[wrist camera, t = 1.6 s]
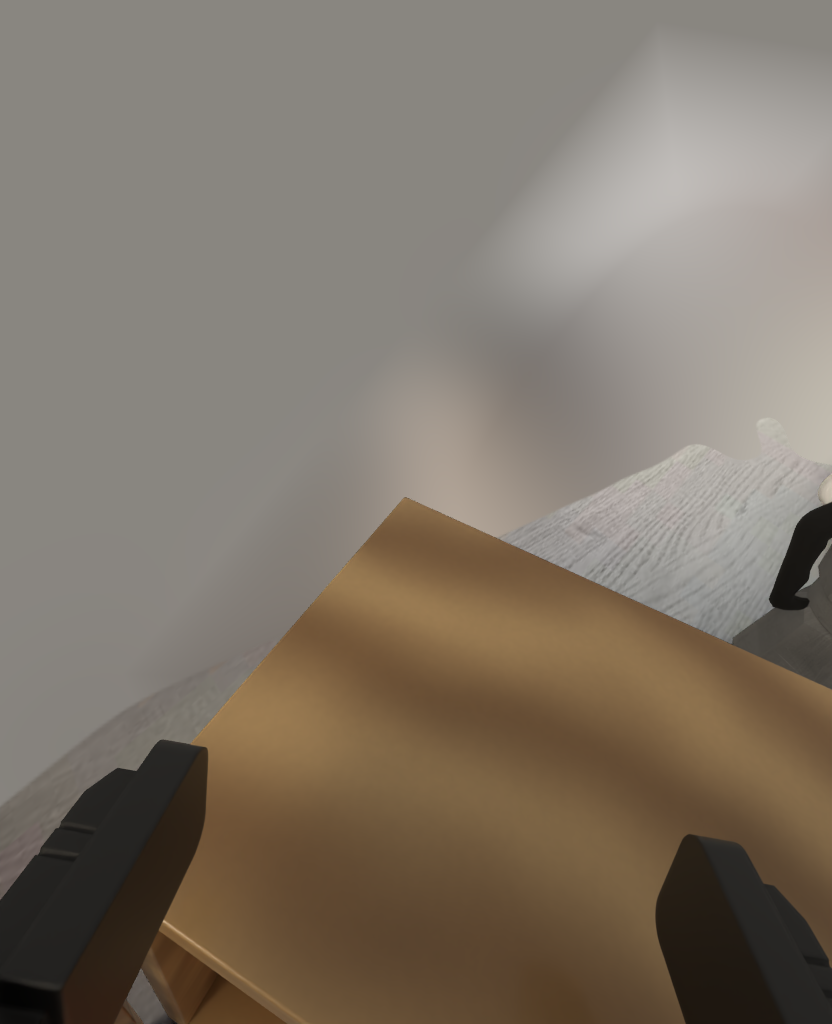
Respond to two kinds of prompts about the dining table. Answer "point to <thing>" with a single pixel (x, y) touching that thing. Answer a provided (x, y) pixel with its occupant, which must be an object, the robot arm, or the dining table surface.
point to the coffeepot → (799, 606)
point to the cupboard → (481, 797)
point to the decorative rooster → (825, 491)
